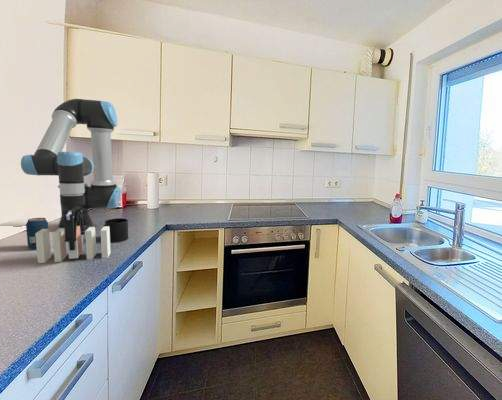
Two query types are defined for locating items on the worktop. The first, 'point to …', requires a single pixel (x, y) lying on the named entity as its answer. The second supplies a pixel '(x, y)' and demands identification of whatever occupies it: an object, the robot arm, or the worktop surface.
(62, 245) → the domino
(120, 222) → the mug
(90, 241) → the domino
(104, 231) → the domino
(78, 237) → the domino
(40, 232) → the domino
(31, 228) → the soda can
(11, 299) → the worktop surface
